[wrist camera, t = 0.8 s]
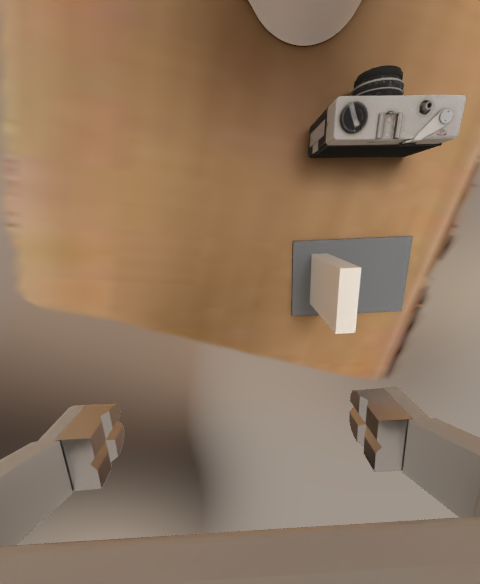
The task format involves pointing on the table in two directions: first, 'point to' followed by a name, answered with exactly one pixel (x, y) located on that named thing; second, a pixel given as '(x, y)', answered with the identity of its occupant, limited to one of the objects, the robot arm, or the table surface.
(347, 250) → the mat
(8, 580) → the robot arm
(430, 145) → the camera
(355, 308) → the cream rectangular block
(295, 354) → the table surface
